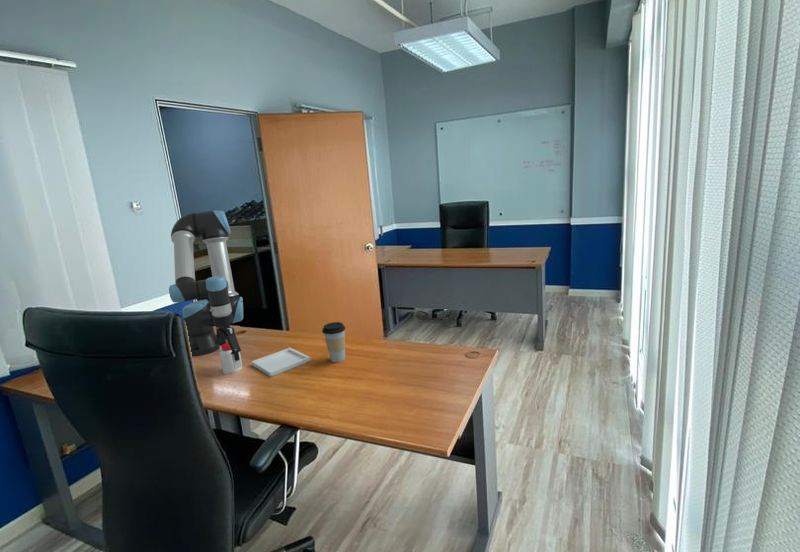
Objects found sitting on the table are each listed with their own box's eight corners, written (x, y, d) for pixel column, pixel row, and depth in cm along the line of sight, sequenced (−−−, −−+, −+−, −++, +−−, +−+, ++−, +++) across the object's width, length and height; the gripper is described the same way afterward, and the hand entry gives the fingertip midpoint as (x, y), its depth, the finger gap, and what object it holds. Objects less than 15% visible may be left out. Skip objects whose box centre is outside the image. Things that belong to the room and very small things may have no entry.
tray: (252, 365, 179) (251, 361, 179) (290, 351, 191) (289, 347, 190) (271, 377, 166) (270, 372, 165) (311, 361, 177) (310, 357, 177)
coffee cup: (351, 354, 181) (347, 320, 177) (346, 363, 171) (341, 328, 168) (329, 355, 182) (325, 322, 178) (323, 364, 173) (318, 330, 169)
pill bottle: (238, 372, 173) (233, 347, 170) (219, 374, 173) (214, 349, 171) (245, 364, 180) (241, 340, 178) (227, 366, 181) (222, 341, 178)
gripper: (202, 312, 178) (212, 359, 183) (224, 322, 160) (234, 374, 164) (220, 307, 183) (229, 353, 188) (243, 316, 165) (252, 367, 169)
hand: (231, 363), depth 176 cm, fingers open, 13 cm apart
